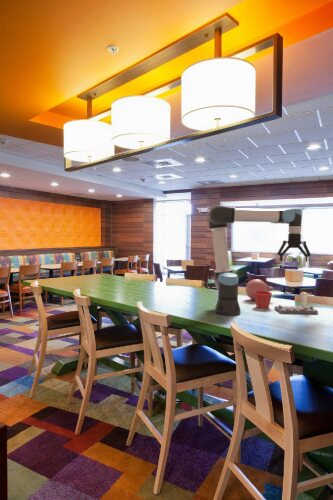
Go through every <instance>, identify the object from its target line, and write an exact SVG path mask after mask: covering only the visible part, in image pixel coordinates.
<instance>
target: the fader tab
mask: <svg viewBox="0 0 333 500" xmlns="http://www.w3.org/2000/svg"><path fill="white" fill-rule="evenodd" d="M300 299H301V301H300V303H301V304H300V307H301V308H304V309H307V307H308V293H307V292H305V291H301V298H300Z"/></svg>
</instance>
